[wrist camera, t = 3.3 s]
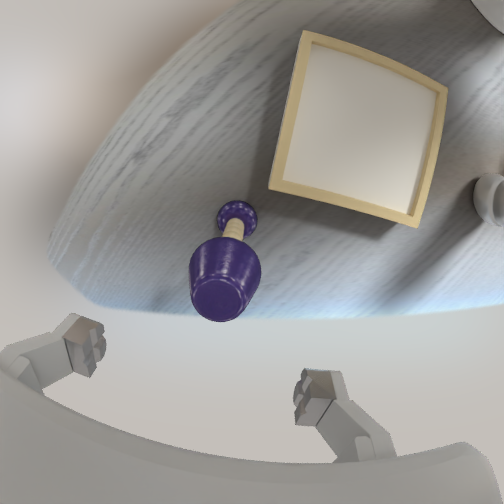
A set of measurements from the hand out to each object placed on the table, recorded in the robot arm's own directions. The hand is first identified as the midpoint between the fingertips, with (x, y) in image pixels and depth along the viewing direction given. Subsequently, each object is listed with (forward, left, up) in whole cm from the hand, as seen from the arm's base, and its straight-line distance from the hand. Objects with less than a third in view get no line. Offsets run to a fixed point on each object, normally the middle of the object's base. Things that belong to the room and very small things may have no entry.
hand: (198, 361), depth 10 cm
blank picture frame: (-12, +10, -21) cm, 27 cm away
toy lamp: (0, 0, -22) cm, 22 cm away
